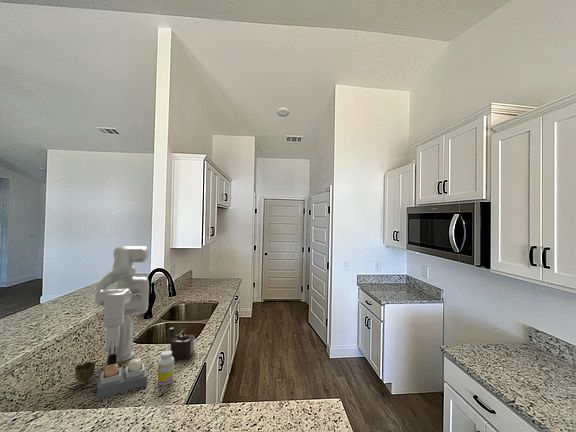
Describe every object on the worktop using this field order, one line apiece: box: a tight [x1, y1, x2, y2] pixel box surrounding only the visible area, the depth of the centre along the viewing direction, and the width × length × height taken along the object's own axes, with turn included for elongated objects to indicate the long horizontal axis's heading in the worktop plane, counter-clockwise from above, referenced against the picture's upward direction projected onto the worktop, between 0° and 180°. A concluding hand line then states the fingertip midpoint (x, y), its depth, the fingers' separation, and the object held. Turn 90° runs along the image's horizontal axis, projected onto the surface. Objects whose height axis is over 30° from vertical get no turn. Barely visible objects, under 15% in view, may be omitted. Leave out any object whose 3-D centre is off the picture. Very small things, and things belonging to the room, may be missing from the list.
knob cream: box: [128, 358, 142, 372], centre depth 121 cm, size 5×5×5 cm
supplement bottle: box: [157, 350, 175, 386], centre depth 122 cm, size 7×7×13 cm
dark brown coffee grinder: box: [167, 324, 195, 361], centre depth 145 cm, size 16×11×18 cm
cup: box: [74, 361, 96, 386], centre depth 119 cm, size 8×7×8 cm
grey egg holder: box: [96, 362, 148, 399], centre depth 119 cm, size 12×18×6 cm, turn 122°
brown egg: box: [104, 362, 119, 378], centre depth 116 cm, size 5×5×5 cm
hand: (112, 363), depth 117 cm, fingers closed
